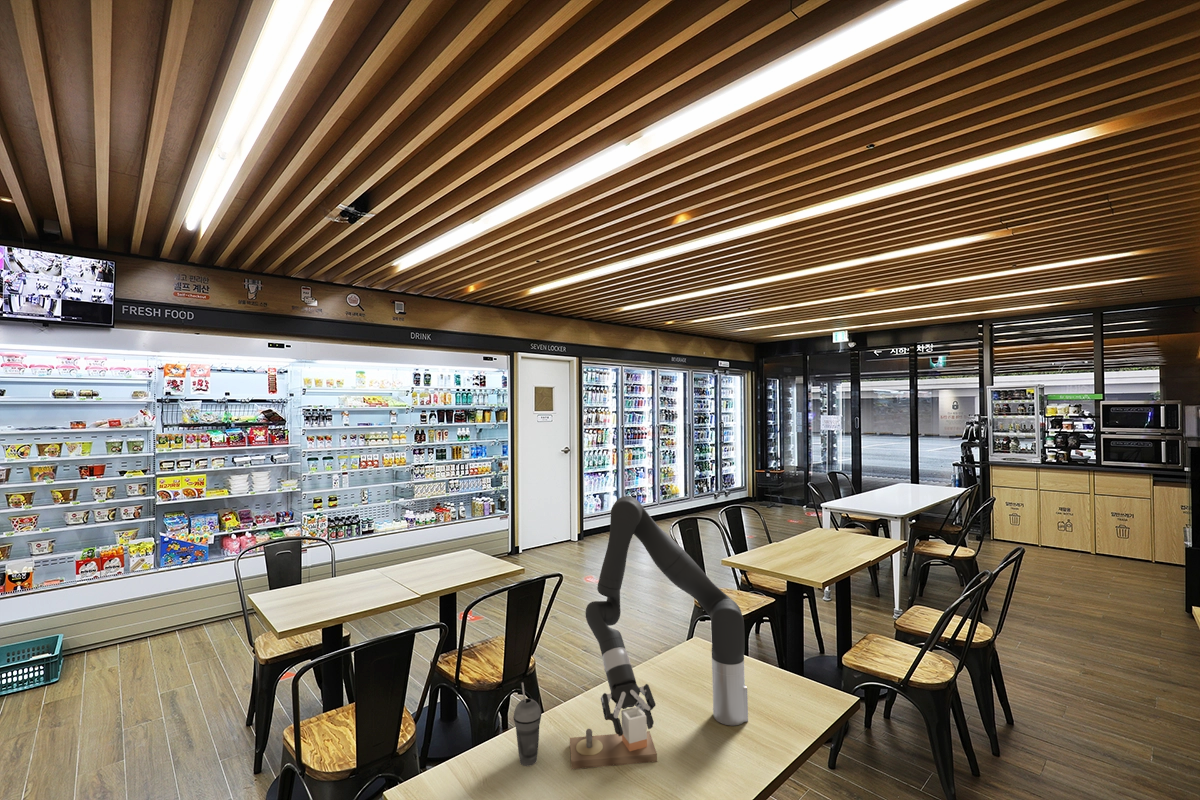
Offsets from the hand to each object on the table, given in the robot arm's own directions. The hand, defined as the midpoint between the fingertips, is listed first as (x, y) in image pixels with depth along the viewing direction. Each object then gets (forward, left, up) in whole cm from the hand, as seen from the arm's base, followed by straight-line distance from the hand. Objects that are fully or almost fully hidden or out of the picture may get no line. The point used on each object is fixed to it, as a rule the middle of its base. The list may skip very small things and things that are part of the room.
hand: (636, 731), depth 144 cm
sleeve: (0, -1, -4) cm, 4 cm away
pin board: (+6, -1, -6) cm, 9 cm away
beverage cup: (+28, -1, -6) cm, 29 cm away
